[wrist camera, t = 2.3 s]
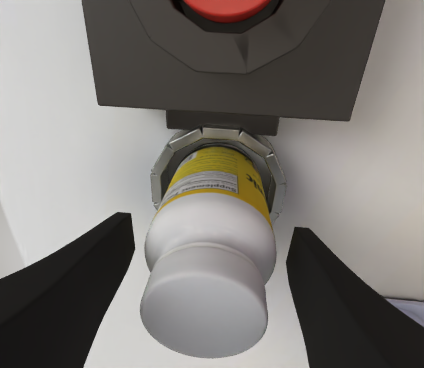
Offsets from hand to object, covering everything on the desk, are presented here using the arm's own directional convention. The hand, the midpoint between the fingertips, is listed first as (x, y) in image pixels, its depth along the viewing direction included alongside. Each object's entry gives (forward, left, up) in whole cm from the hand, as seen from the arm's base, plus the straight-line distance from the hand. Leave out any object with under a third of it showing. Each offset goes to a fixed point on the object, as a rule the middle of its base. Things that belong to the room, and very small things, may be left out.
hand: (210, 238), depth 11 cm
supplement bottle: (0, 0, -6) cm, 6 cm away
